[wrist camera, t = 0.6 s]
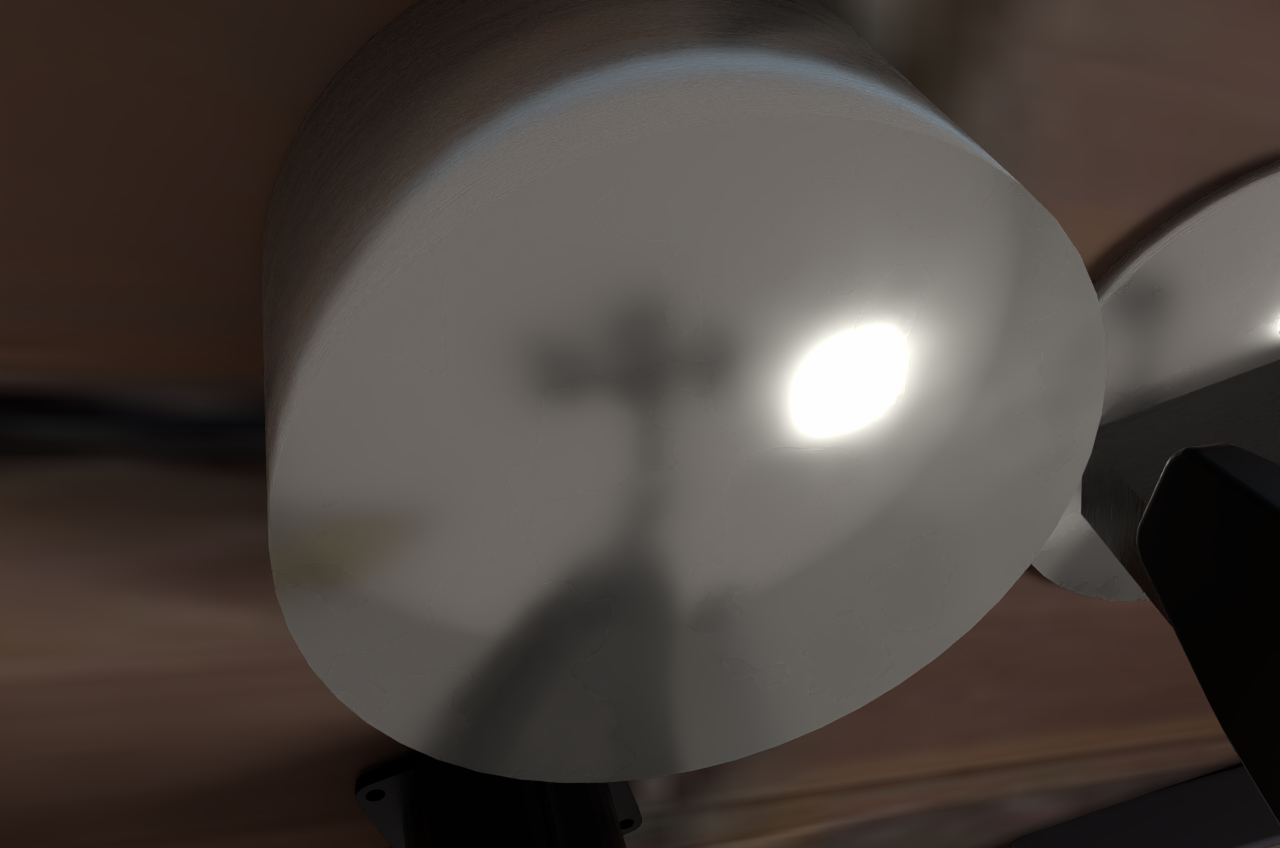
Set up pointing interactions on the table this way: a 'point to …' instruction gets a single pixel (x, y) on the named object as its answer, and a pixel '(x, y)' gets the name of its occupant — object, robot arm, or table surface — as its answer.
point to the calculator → (1174, 819)
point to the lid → (1176, 374)
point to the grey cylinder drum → (652, 381)
